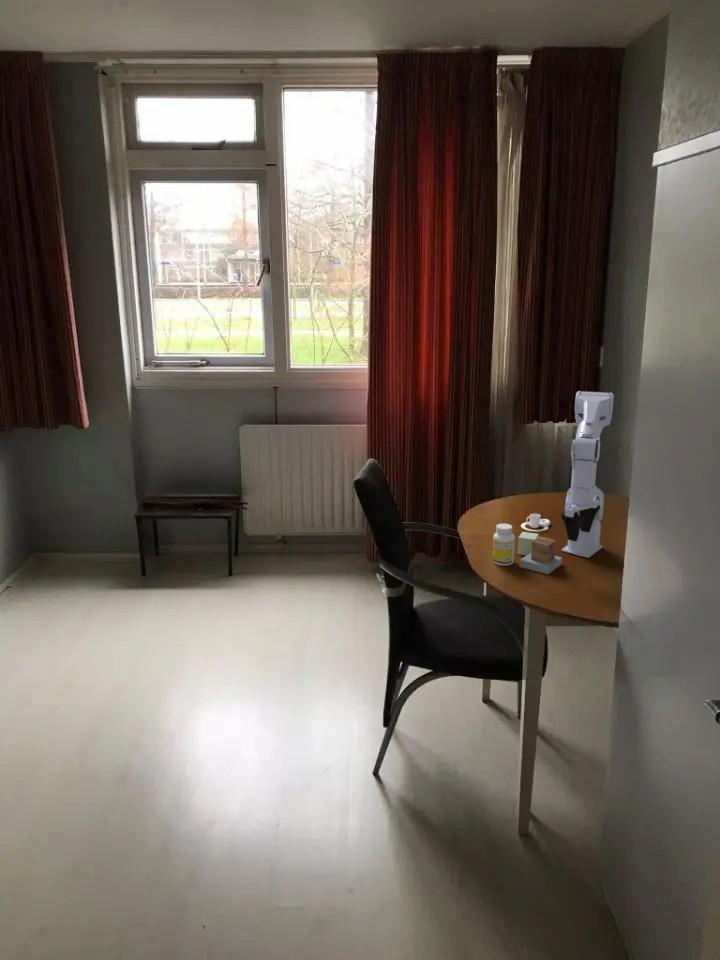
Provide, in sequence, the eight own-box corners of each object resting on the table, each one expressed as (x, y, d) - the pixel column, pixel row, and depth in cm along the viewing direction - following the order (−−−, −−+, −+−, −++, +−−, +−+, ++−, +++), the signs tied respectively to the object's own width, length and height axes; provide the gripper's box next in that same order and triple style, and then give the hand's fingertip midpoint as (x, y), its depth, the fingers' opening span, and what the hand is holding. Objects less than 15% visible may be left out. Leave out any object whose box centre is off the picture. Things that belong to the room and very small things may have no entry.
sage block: (521, 548, 214) (522, 531, 213) (537, 550, 213) (538, 533, 211) (517, 554, 211) (518, 537, 209) (534, 556, 209) (535, 539, 207)
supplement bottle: (498, 556, 209) (500, 520, 206) (517, 561, 206) (519, 525, 203) (488, 562, 205) (489, 526, 202) (507, 568, 202) (509, 531, 199)
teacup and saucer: (548, 523, 234) (549, 510, 233) (552, 533, 226) (553, 520, 225) (519, 523, 235) (520, 510, 233) (522, 532, 227) (523, 519, 226)
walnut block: (538, 553, 205) (539, 536, 204) (554, 557, 203) (555, 540, 201) (531, 559, 202) (532, 541, 200) (546, 563, 199) (548, 545, 198)
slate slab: (533, 558, 208) (534, 550, 208) (561, 566, 204) (561, 557, 203) (519, 568, 203) (520, 559, 202) (547, 576, 198) (548, 567, 197)
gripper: (586, 495, 184) (581, 548, 188) (610, 481, 195) (605, 531, 199) (558, 489, 188) (555, 541, 192) (583, 476, 199) (579, 525, 203)
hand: (578, 535), depth 196 cm, fingers open, 7 cm apart
